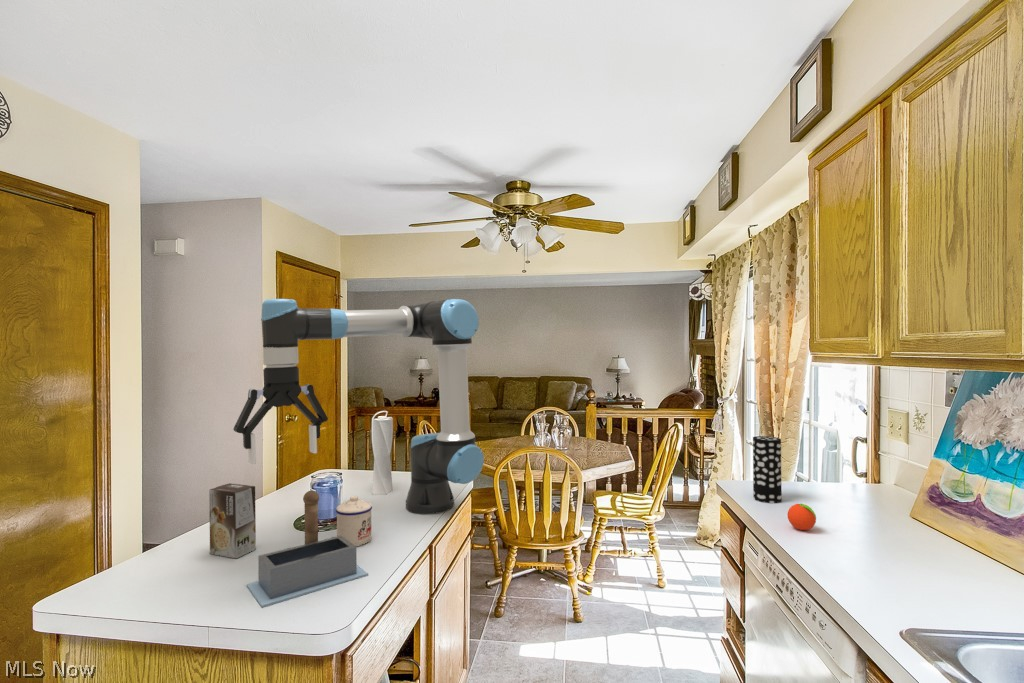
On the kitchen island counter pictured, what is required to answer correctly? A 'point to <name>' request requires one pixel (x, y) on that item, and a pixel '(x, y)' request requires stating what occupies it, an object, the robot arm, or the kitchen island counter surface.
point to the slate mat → (266, 601)
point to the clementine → (801, 516)
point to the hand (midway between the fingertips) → (284, 457)
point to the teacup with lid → (354, 521)
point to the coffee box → (232, 520)
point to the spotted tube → (767, 469)
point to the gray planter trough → (306, 566)
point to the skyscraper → (382, 453)
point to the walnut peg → (311, 516)
